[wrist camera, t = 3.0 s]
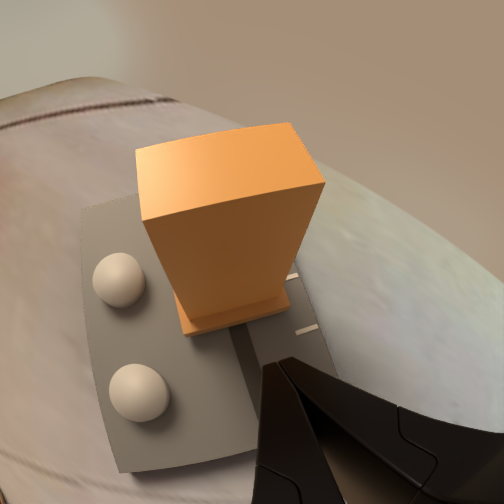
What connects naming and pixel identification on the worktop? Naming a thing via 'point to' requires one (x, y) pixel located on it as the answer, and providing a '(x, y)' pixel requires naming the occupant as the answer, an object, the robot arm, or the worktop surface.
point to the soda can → (1, 499)
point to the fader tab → (228, 220)
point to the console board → (175, 352)
